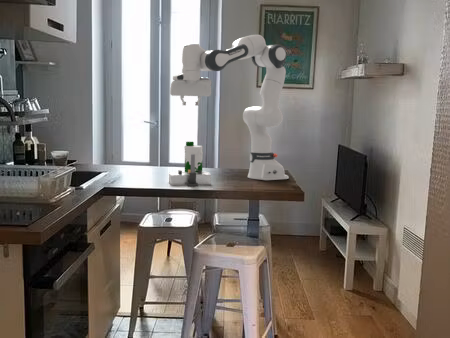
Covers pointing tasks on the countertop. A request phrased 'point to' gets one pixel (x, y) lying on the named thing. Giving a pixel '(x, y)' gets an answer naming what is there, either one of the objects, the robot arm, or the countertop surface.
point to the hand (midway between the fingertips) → (190, 105)
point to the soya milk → (198, 152)
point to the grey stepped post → (192, 173)
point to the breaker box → (183, 178)
